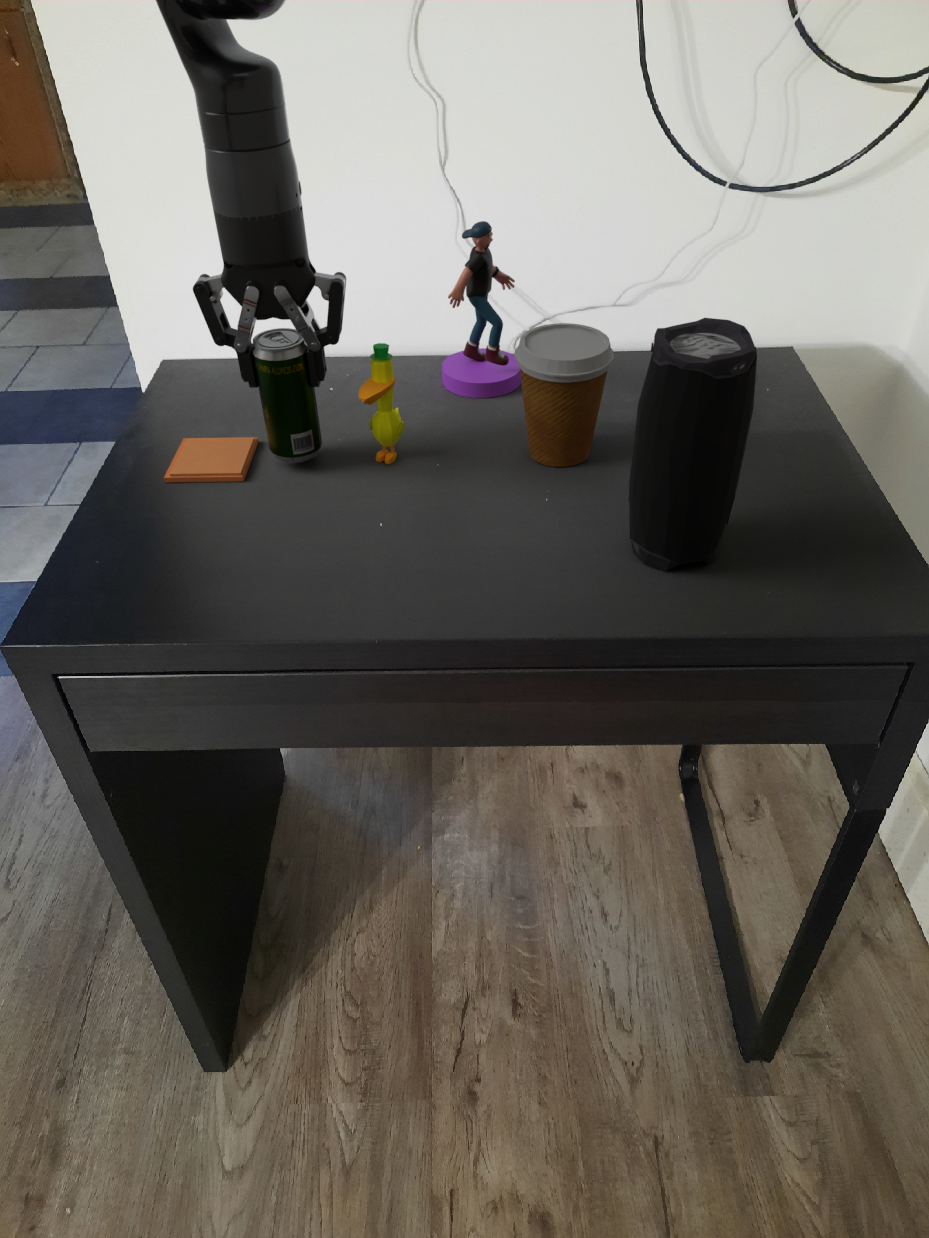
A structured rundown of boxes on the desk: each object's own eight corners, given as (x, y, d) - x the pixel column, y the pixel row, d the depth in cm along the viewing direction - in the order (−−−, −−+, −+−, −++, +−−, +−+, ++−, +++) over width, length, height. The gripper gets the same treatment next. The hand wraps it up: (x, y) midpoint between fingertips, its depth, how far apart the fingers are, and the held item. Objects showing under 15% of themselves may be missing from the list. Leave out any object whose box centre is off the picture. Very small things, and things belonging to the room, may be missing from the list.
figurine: (512, 401, 102) (515, 237, 91) (433, 394, 104) (425, 232, 93) (527, 366, 109) (531, 209, 98) (453, 360, 111) (448, 205, 99)
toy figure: (385, 478, 90) (375, 366, 83) (354, 471, 92) (341, 360, 84) (415, 447, 95) (408, 337, 87) (385, 441, 96) (376, 332, 88)
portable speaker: (605, 556, 80) (625, 344, 67) (654, 508, 85) (682, 304, 73) (694, 591, 76) (734, 372, 63) (740, 538, 81) (785, 327, 69)
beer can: (333, 452, 92) (318, 339, 85) (287, 470, 90) (268, 355, 82) (305, 432, 96) (288, 322, 88) (260, 449, 93) (239, 337, 85)
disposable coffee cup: (620, 466, 91) (632, 353, 83) (532, 483, 89) (536, 369, 81) (583, 423, 98) (590, 315, 90) (500, 438, 96) (500, 329, 88)
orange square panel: (165, 482, 91) (162, 475, 90) (184, 443, 97) (182, 435, 96) (243, 481, 91) (242, 474, 90) (258, 442, 97) (257, 434, 96)
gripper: (161, 215, 74) (204, 403, 85) (335, 211, 74) (355, 401, 85) (184, 189, 80) (221, 368, 91) (345, 186, 80) (363, 366, 91)
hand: (286, 383), depth 88 cm, fingers closed on beer can, 5 cm apart
